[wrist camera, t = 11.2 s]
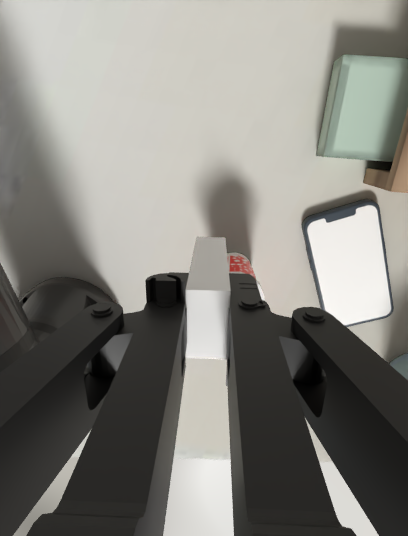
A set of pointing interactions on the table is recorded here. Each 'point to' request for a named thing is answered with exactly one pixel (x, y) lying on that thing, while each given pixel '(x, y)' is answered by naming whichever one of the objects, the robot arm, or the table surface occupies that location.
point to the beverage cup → (242, 267)
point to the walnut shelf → (393, 167)
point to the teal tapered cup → (401, 365)
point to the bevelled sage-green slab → (365, 108)
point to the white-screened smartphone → (349, 262)
